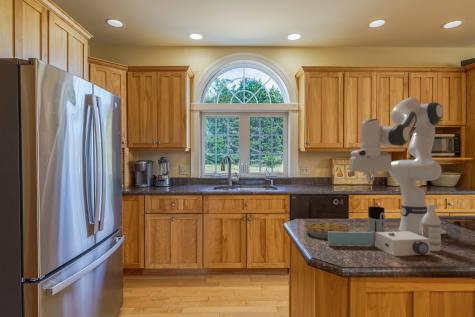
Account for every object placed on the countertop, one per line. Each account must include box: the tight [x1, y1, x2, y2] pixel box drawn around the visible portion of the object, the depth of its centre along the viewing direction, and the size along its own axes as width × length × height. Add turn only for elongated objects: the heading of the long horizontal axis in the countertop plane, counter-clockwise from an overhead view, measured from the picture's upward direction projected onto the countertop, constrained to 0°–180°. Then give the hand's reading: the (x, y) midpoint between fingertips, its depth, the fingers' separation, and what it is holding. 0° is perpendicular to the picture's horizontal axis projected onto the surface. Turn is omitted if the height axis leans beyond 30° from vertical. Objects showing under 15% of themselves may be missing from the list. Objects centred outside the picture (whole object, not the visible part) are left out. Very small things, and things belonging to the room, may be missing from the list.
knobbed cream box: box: [375, 231, 431, 257], centre depth 129 cm, size 16×16×7 cm
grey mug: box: [367, 205, 386, 240], centre depth 149 cm, size 9×14×15 cm, turn 176°
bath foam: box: [421, 203, 442, 252], centre depth 132 cm, size 7×7×20 cm
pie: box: [305, 222, 350, 240], centre depth 158 cm, size 22×22×5 cm
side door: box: [327, 231, 376, 248], centre depth 137 cm, size 2×21×7 cm, turn 85°
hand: (370, 180), depth 145 cm, fingers closed
